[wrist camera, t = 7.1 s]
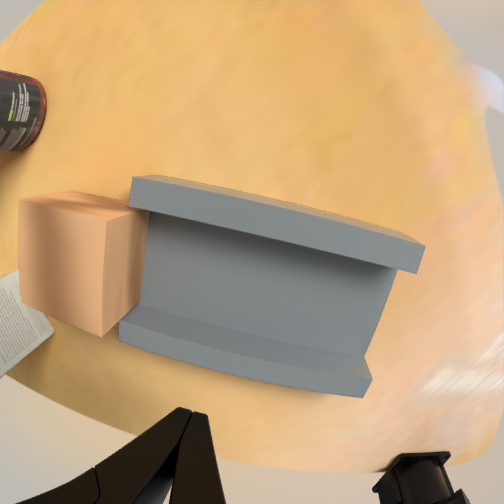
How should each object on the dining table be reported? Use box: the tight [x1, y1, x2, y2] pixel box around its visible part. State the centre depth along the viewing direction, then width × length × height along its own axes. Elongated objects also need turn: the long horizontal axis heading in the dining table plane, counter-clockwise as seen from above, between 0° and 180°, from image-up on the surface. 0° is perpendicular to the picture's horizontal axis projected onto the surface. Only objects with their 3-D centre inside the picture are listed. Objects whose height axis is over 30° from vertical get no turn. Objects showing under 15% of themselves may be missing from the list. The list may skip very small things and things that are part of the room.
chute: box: [119, 175, 425, 398], centre depth 17 cm, size 15×10×4 cm, turn 78°
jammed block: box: [18, 191, 150, 337], centre depth 16 cm, size 6×6×5 cm
